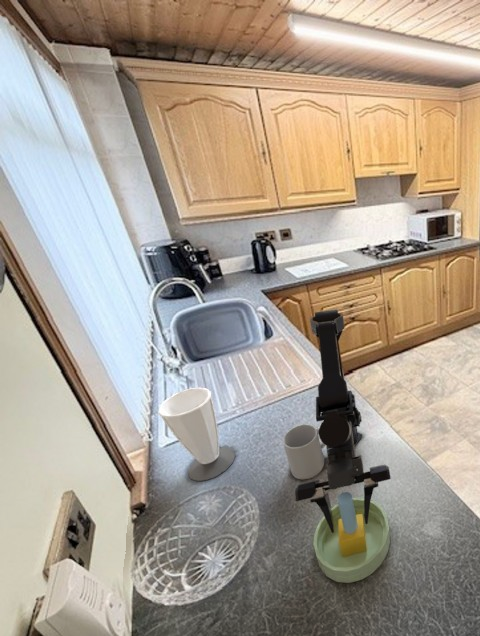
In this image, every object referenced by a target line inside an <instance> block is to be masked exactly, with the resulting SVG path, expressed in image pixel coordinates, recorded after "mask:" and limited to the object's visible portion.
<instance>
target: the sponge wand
mask: <svg viewBox="0 0 480 636" xmlns="http://www.w3.org/2000/svg"><path fill="white" fill-rule="evenodd" d="M337 504H338V505H339V510H340V514H341V518H342V519H338V524H339V545H340V549H341V553H342V557H346V556H350V555H354V554H357V553H361V552H365V551H367V545H366V535H365V526H364V521H363V515H362V514H358V515H356V514H355V509H354V504H353V495H352V493H351V492H350V491H343V492H341V493H340V494H339V495H338V497H337Z"/></svg>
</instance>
